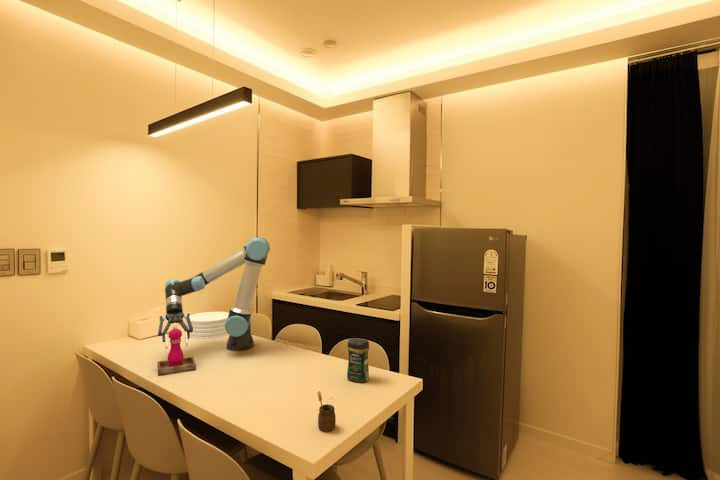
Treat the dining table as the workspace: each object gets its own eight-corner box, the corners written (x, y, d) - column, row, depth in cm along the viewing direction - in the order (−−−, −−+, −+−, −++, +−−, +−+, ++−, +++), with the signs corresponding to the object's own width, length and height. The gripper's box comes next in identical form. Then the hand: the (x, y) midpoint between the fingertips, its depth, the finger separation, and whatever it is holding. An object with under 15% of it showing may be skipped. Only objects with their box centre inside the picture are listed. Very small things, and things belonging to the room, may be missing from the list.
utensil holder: (330, 433, 128) (330, 398, 128) (314, 429, 131) (314, 394, 131) (338, 425, 134) (338, 391, 133) (322, 421, 136) (322, 388, 136)
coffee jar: (344, 380, 174) (344, 339, 173) (353, 374, 181) (353, 335, 180) (363, 384, 169) (363, 342, 168) (371, 378, 176) (371, 338, 175)
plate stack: (177, 338, 241) (176, 320, 240) (202, 327, 268) (202, 310, 268) (218, 340, 236) (218, 322, 236) (240, 329, 264) (240, 312, 263)
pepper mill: (178, 369, 183) (177, 327, 183) (164, 369, 184) (163, 327, 184) (187, 364, 190) (186, 324, 190) (173, 364, 191) (172, 323, 191)
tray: (193, 362, 196) (192, 356, 196) (195, 370, 186) (195, 363, 186) (157, 367, 189) (157, 361, 189) (158, 376, 178) (158, 369, 178)
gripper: (195, 308, 205) (199, 346, 192) (151, 312, 195) (151, 353, 181) (196, 300, 200) (200, 338, 187) (151, 304, 190) (151, 345, 177)
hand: (176, 346), depth 184 cm, fingers open, 8 cm apart
